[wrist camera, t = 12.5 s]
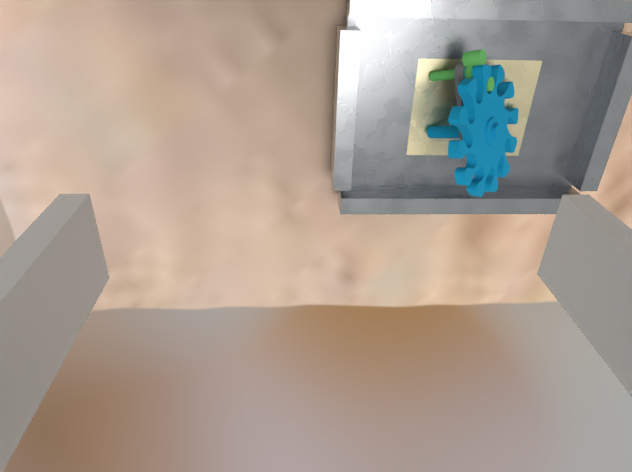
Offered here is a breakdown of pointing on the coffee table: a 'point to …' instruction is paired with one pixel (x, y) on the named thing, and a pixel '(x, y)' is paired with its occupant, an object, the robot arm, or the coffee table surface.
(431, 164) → the gray metal tray
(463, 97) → the gear
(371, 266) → the coffee table surface
